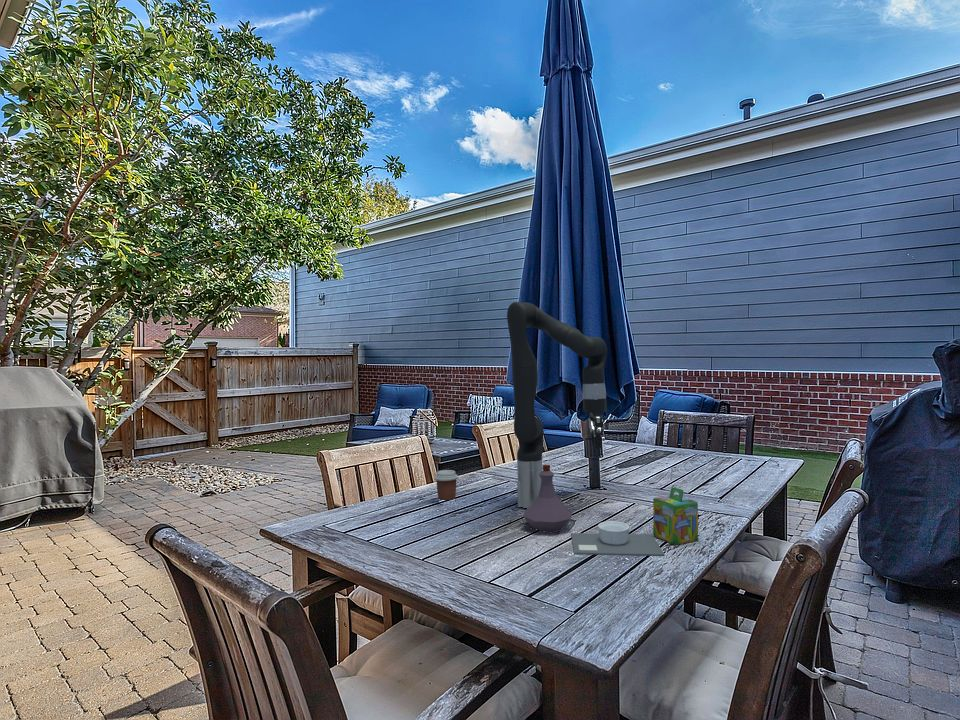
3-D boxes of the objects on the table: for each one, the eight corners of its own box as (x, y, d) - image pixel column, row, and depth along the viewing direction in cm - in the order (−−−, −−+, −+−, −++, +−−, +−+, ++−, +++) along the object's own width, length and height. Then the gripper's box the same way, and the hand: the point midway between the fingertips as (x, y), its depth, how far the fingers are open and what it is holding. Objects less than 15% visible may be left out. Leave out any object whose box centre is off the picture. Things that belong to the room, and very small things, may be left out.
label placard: (574, 554, 140) (574, 552, 140) (571, 534, 155) (571, 533, 155) (664, 555, 137) (664, 554, 137) (651, 535, 153) (651, 534, 153)
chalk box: (652, 536, 152) (651, 487, 152) (676, 531, 156) (674, 483, 156) (675, 546, 144) (674, 494, 144) (699, 541, 147) (698, 490, 147)
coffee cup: (430, 503, 194) (429, 472, 194) (448, 498, 200) (448, 468, 200) (444, 508, 187) (444, 475, 187) (463, 503, 193) (462, 471, 193)
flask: (529, 538, 153) (527, 472, 153) (517, 521, 169) (515, 461, 169) (581, 534, 155) (579, 469, 156) (564, 518, 172) (562, 459, 172)
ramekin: (621, 548, 142) (620, 532, 142) (592, 541, 148) (592, 526, 148) (634, 539, 148) (634, 524, 148) (607, 533, 154) (606, 519, 154)
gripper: (580, 396, 175) (582, 443, 174) (585, 399, 161) (587, 450, 160) (602, 395, 174) (604, 443, 174) (609, 398, 160) (611, 449, 160)
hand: (596, 446), depth 167 cm, fingers open, 8 cm apart
